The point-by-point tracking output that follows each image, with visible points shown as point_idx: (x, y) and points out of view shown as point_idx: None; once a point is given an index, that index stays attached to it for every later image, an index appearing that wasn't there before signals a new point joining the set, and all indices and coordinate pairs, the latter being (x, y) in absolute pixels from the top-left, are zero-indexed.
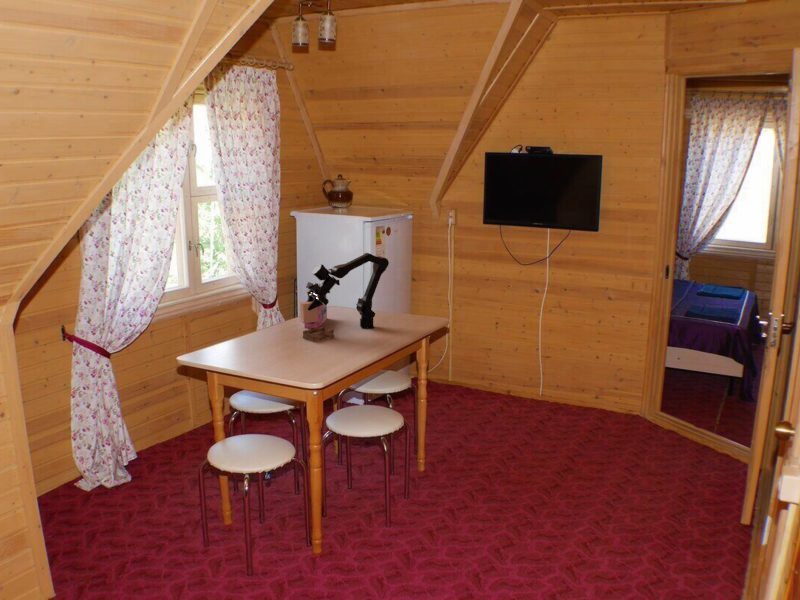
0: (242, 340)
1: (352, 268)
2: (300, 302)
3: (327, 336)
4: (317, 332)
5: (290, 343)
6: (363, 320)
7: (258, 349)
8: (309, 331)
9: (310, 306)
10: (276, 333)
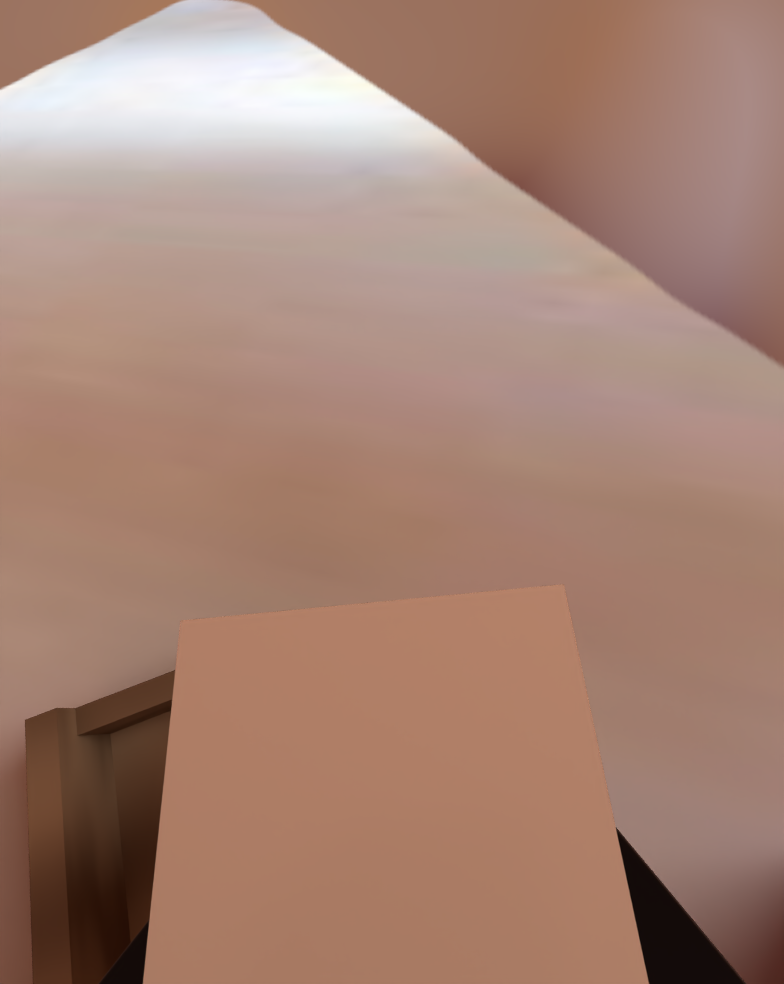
0: (435, 187)
1: None
2: (561, 604)
3: None
4: (52, 816)
5: (170, 484)
6: None
7: (150, 256)
8: None
9: (123, 962)
10: (592, 433)
